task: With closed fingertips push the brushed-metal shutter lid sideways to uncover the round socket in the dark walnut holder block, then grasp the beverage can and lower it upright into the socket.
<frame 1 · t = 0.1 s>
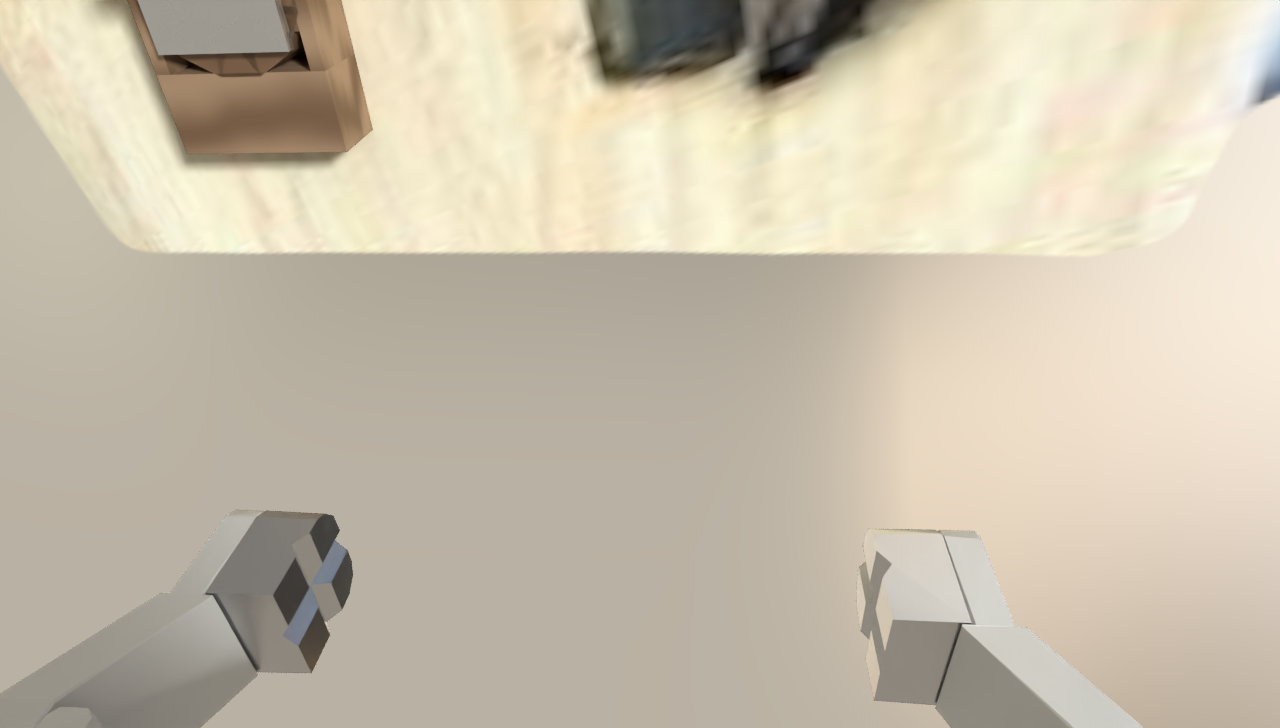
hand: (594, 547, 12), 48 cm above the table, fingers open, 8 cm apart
socket block: (263, 18, 54), on the table
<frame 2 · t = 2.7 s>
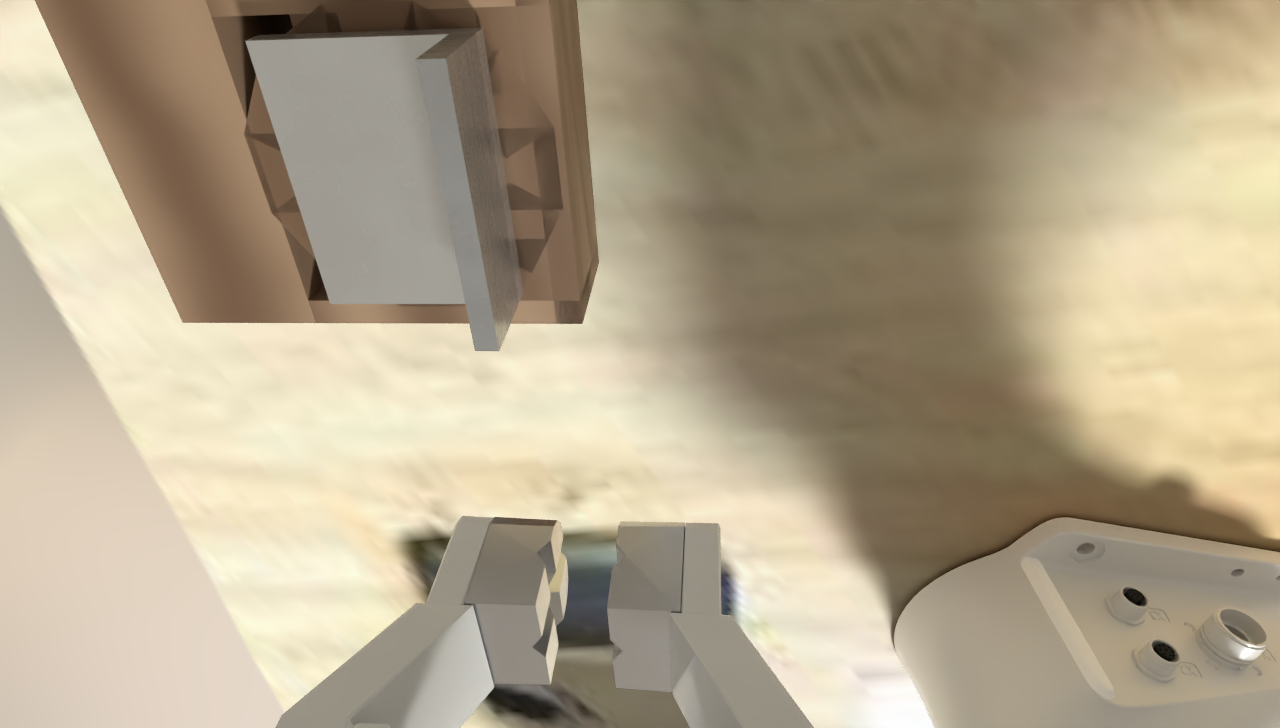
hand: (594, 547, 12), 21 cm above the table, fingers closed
shutter: (382, 197, 24), point 7 cm above the table, slide at 0.0 cm
socket block: (386, 127, 30), on the table
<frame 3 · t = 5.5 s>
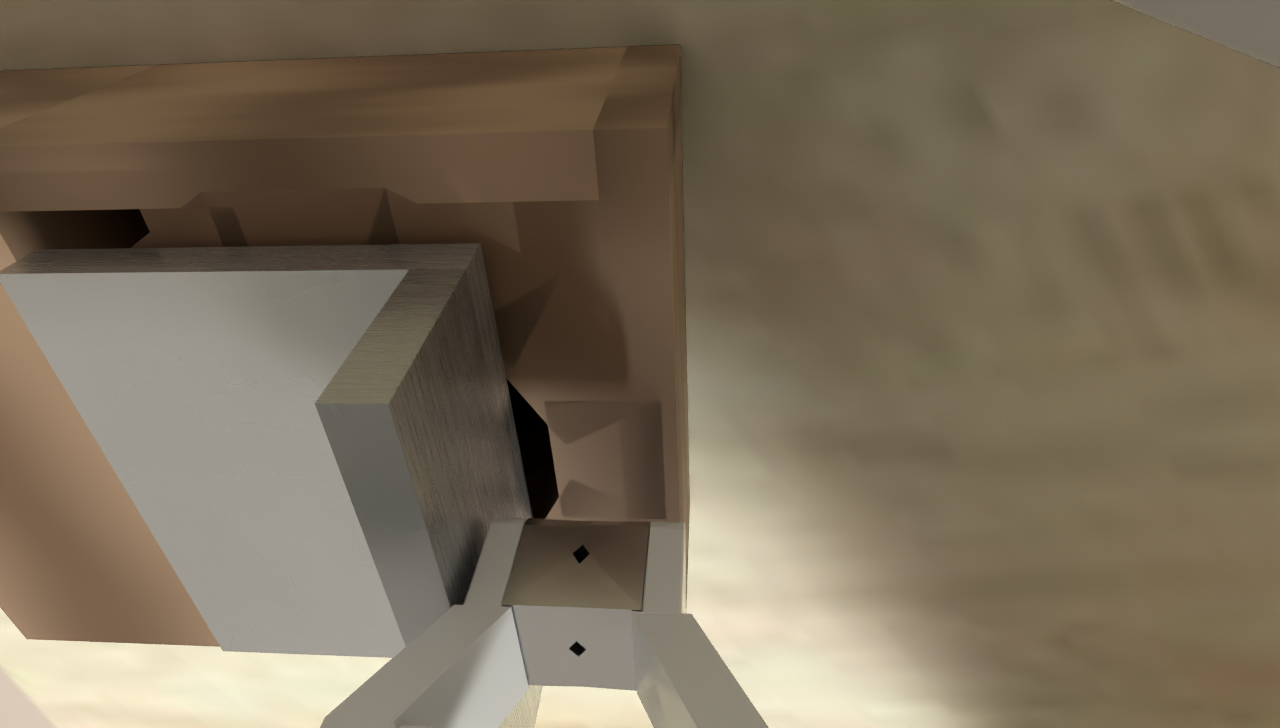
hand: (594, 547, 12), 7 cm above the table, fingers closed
shutter: (288, 550, 12), point 7 cm above the table, slide at 0.7 cm, touching gripper
socket block: (355, 319, 18), on the table
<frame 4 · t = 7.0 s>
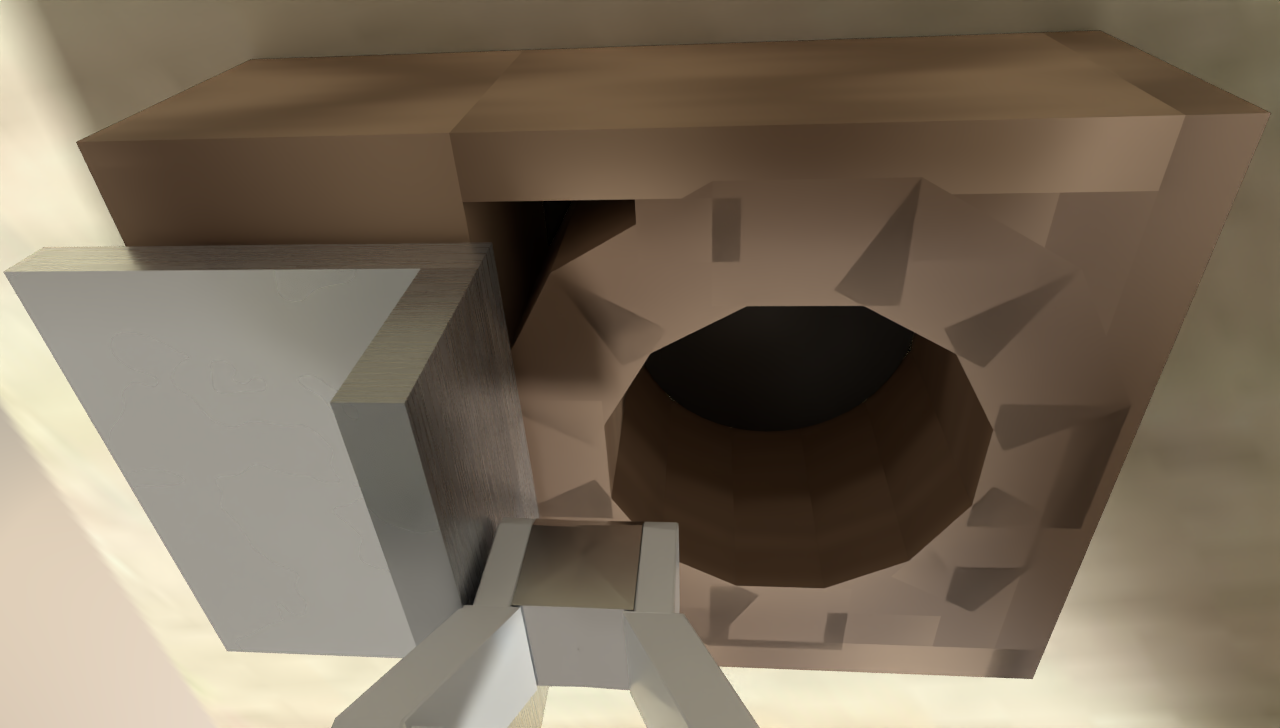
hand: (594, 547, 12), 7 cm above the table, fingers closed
shutter: (296, 550, 12), point 7 cm above the table, slide at 8.1 cm, touching gripper
socket block: (663, 318, 18), on the table
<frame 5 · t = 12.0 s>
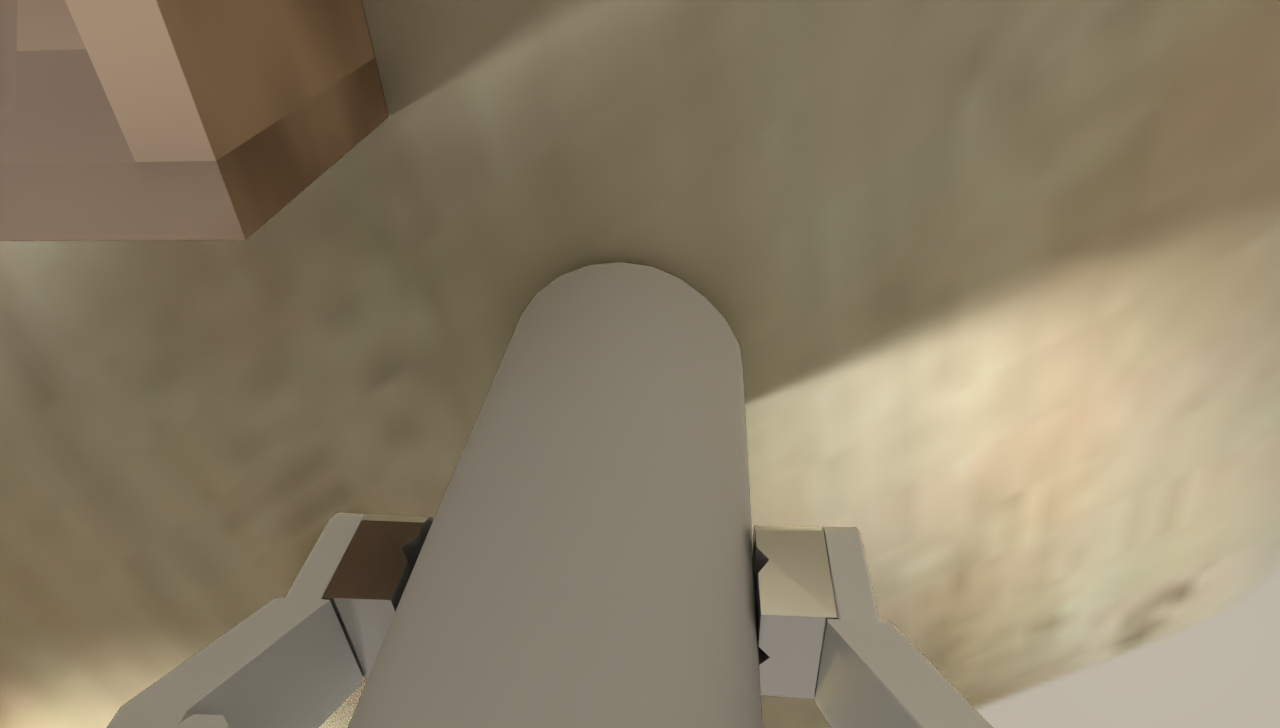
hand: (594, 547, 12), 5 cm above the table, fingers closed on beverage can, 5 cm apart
beverage can: (627, 346, 16), on the table, touching gripper
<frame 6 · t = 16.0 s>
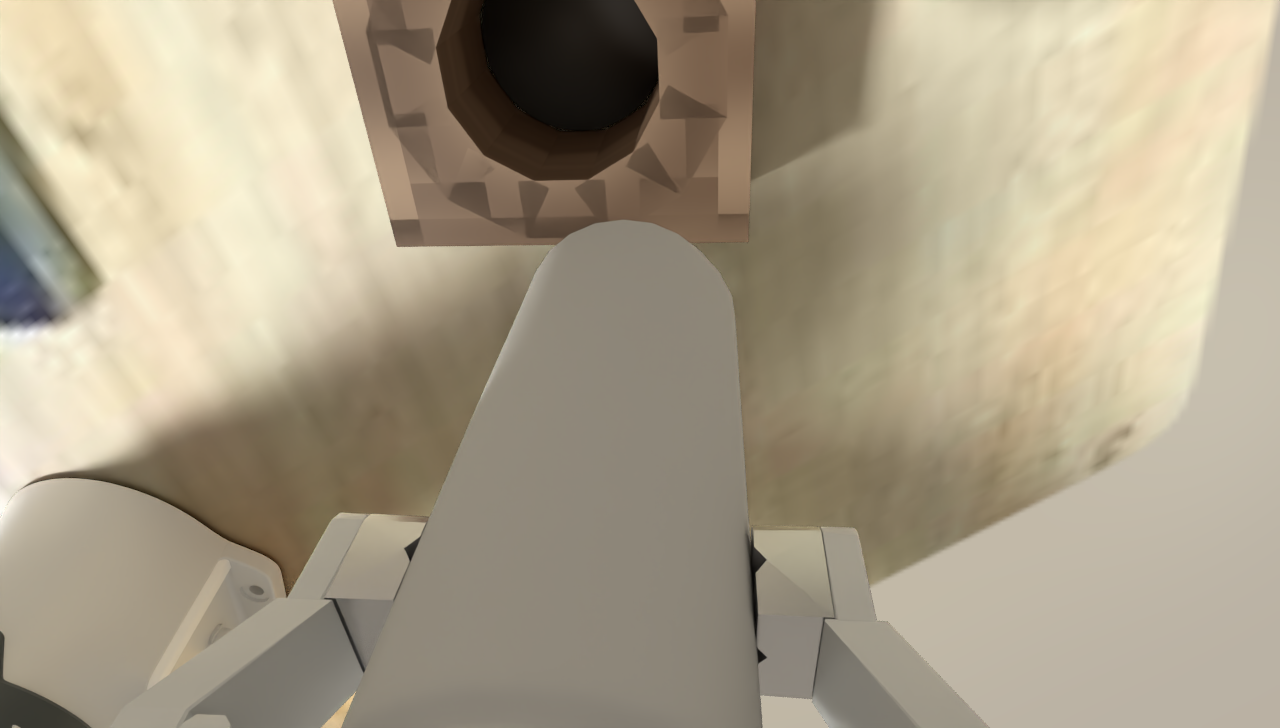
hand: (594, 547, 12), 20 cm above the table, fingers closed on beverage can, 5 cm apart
beverage can: (631, 301, 18), point 12 cm above the table, touching gripper
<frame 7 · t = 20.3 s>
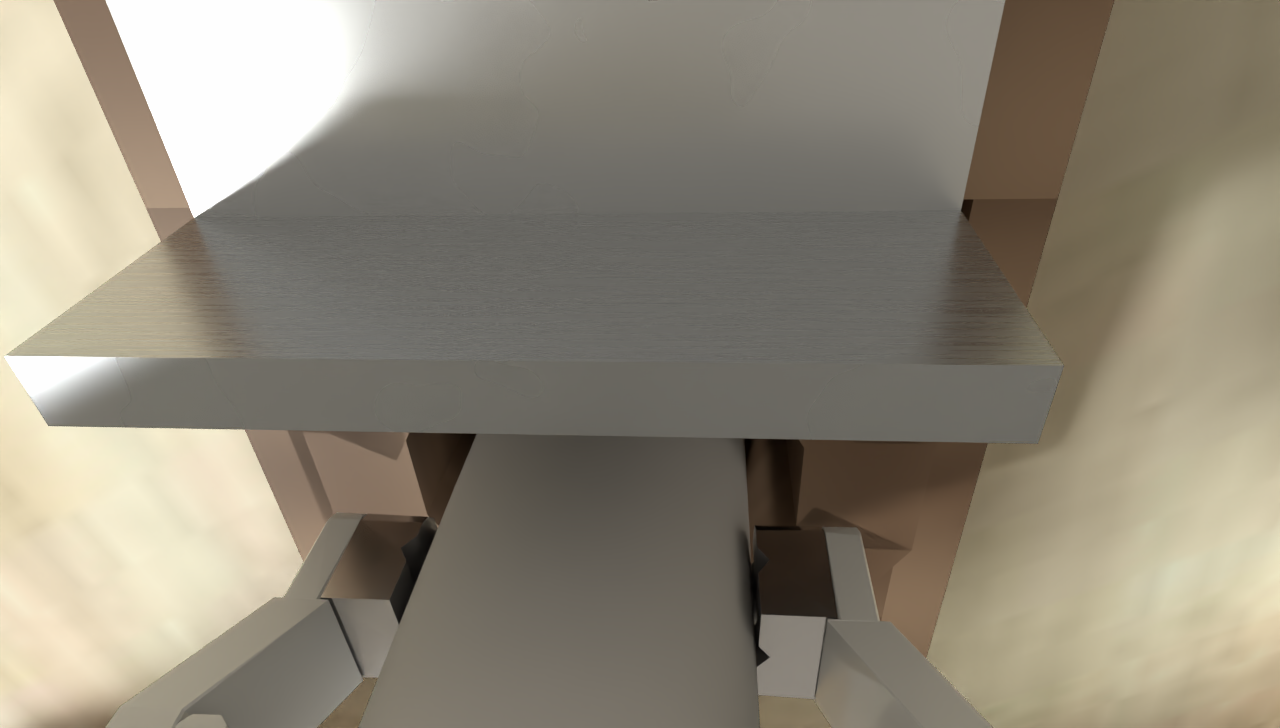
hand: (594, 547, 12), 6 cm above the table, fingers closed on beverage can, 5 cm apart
beverage can: (631, 336, 17), resting on socket block, touching gripper
socket block: (624, 221, 15), on the table
when the fingers open (6 cm above the table, at t = 20.8 s): beverage can stays where it is, resting on socket block.
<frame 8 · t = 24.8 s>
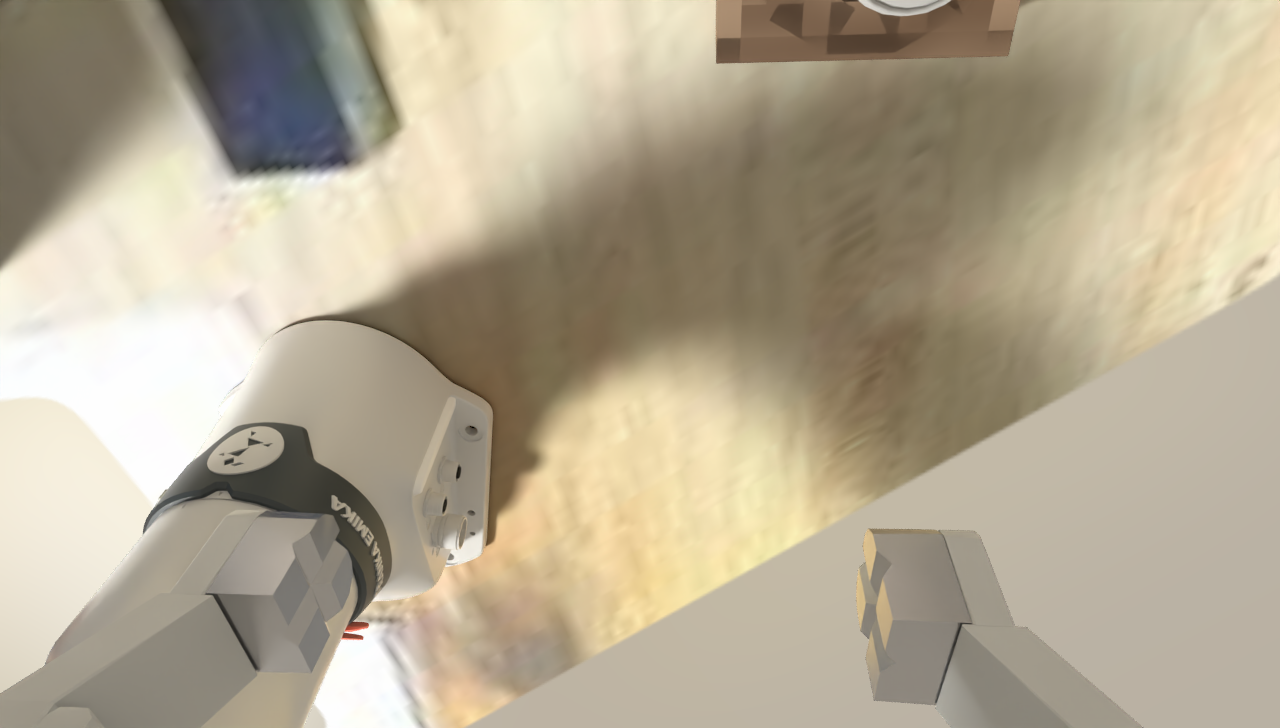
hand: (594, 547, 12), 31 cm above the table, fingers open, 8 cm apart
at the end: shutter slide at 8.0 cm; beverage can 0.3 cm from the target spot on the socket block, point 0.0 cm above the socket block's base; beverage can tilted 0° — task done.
